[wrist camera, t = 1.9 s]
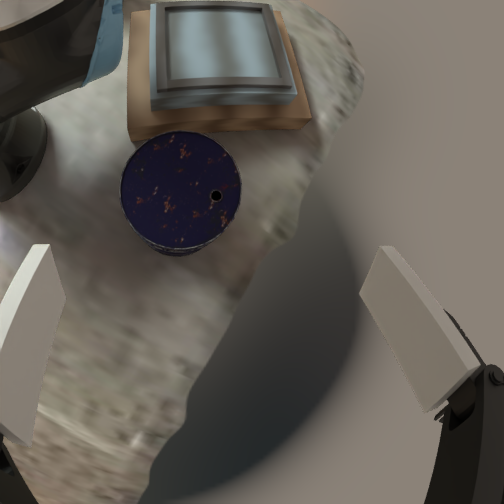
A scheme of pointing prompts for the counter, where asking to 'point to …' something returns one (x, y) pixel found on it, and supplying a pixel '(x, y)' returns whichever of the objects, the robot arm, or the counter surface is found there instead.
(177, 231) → the dark blue cylinder
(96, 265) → the counter surface
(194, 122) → the tower base
